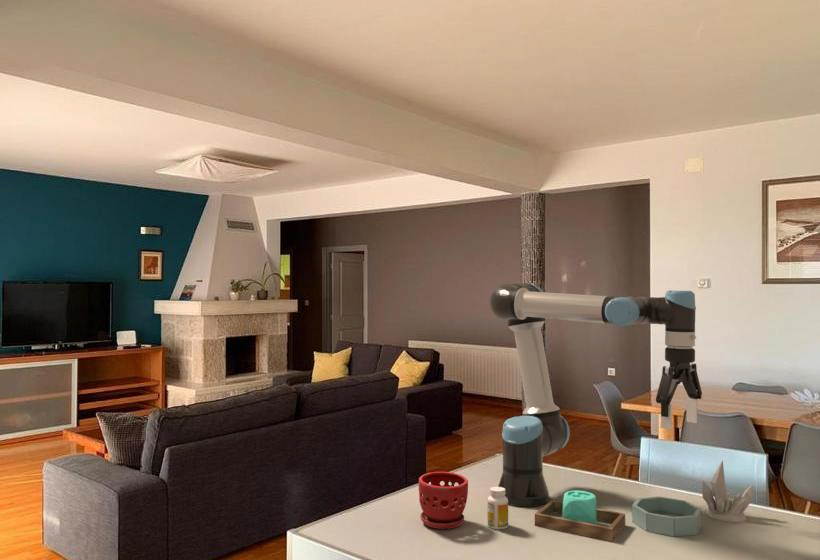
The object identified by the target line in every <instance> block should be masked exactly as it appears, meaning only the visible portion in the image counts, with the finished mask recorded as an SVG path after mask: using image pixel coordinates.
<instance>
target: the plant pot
mask: <svg viewBox="0 0 820 560" xmlns="http://www.w3.org/2000/svg"><path fill="white" fill-rule="evenodd" d="M442 482H444V483H443V485H441V483H442ZM449 483H451V485H450V484H449ZM456 483H457V484H458V485H456ZM468 491H469V480H468V478H467V477H465V476H464V475H462V474H459V473H454V472H449V471H433V472H427V473H425V474H423V475H421V476H420V477H419V478H418V497H419V505H420V507H421V510H422V512H421V513H420V514H419V515H420V517H419V518H420V520H421V522H422V523H424V524H423V525H425V526H428V527H430V528H433V529H439V530H448V529H453V528H457V527H459V526H461V525H462V524H463V523H464V520H465V515H464V514H463V513H464V511H465V509H466V505H467V500H468Z"/></svg>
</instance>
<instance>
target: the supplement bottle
mask: <svg viewBox="0 0 820 560" xmlns="http://www.w3.org/2000/svg"><path fill="white" fill-rule="evenodd" d="M489 494H490V495H489V496H488V497H487V527H489V528H491V529H494V530H504V529H508V527H509V504H508V499H507V497H505V488H503V487H498V486H492V487H490V488H489Z"/></svg>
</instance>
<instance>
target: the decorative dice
mask: <svg viewBox="0 0 820 560" xmlns="http://www.w3.org/2000/svg"><path fill="white" fill-rule="evenodd" d="M562 502H563V514H562V518H565V519H570V520H575V521H580V522H585V523H590V524H595V525H597V521H596V519H597V508H598V506H597V505H598V504H597V496H596V495H595V494H593V493H592V492H589V491H585V490H579V489H577V490H576V489H575V490H574V489H573V490H569V491H566V492H565V493H564V494H563V500H562Z"/></svg>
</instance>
